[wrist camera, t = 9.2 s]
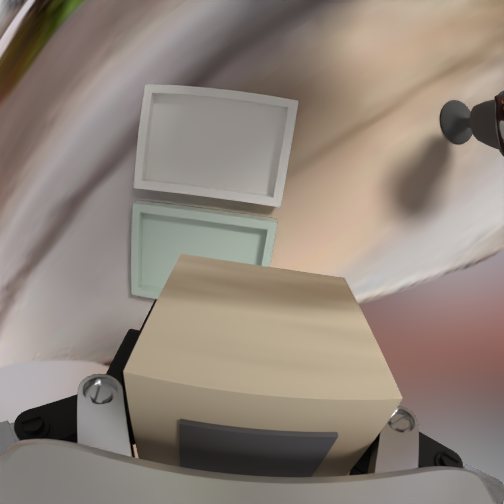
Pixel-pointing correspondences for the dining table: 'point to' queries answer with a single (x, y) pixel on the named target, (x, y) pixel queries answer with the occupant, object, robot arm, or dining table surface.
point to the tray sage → (192, 240)
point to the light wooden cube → (257, 373)
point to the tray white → (214, 143)
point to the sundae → (475, 122)
